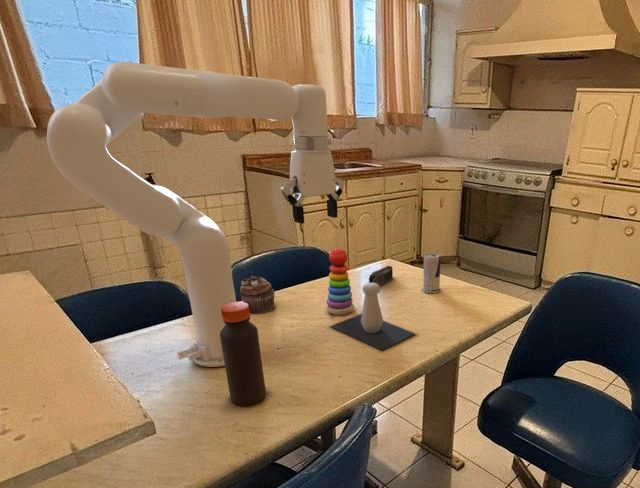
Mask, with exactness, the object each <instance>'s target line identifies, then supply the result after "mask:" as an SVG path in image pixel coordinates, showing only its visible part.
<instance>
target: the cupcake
mask: <svg viewBox="0 0 640 488" xmlns="http://www.w3.org/2000/svg"><path fill="white" fill-rule="evenodd" d="M239 292H240V293H239V295H240V298H241V301H242V302H245V303H247V304H248V305H249V310H250V314H262V313H263V314H264V313H267V312H270V311H271V310H273V309H274V307H275V296H276V295H275V293H276V292H275V289H273V288H272V283H270V282H269V281H267V280H266V279H265V278H263V277H262V276H261V275H255V274H251V275H250V277H248V278H245V277H244V278H242V280H241V285H240V288H239Z"/></svg>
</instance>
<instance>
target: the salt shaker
mask: <svg viewBox="0 0 640 488" xmlns="http://www.w3.org/2000/svg"><path fill="white" fill-rule="evenodd" d="M380 289H381V288H380V286H379V285H378V284H377V283H369V282H367V283H364V284H363V285H362V293H363V294H364V298H363V299H364V300H363V305H362V311H361V314H362V318H361V324H362V326H363V328H364V330H365V331H366V332H367V333H376V332H378V331H380V329H381V326H382V324H383V321H384V318H383V315H382V310H381V306H380V301H379V297H378V294H379V293H380Z"/></svg>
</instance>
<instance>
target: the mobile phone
mask: <svg viewBox="0 0 640 488" xmlns="http://www.w3.org/2000/svg"><path fill="white" fill-rule="evenodd" d="M393 271H394V270H393V266H391V265H385V266H384V267H382V268H380V269H377V270H375V271H373V272H371V273H370V275H369V277H368V283H377V284H378V285H379V287H380V286H382V285H383V284H386V283H388V282H389V281H391V280H392V279H393V276H394V275H393V273H394V272H393Z"/></svg>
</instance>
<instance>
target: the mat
mask: <svg viewBox="0 0 640 488" xmlns="http://www.w3.org/2000/svg"><path fill="white" fill-rule="evenodd" d="M361 318H362V313H360V314H357V315H355V316H353V317H350V318H348V319H345V320H343V321H340V322H338V323H335V324H332V325H330V328H332V329H334V330H336V331H338V332H340V333H343V334H345V335H347V336H349V337H351V338H353V339H355V340H357V341H360V342H361V343H364V344H366V345H368V346H371V347H373V348H374V349H377V350H379V351H381V352H383V351H385V350H388V349H390V348H392V347H393V346H396V345H398V344H400V343H403V342H404V341H406V340H408V339H410V338H412V337H414V336H416V333H414V332H412V331H409V330H407V329H405V328H403V327H399V326H397V325H394V324H393V323H390V322H387V321H385V320H383V324H382V326H381V329H380V331H378V332H376V333H367V332H366V331H365V330H364V328H363V326H362V324H361Z"/></svg>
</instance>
